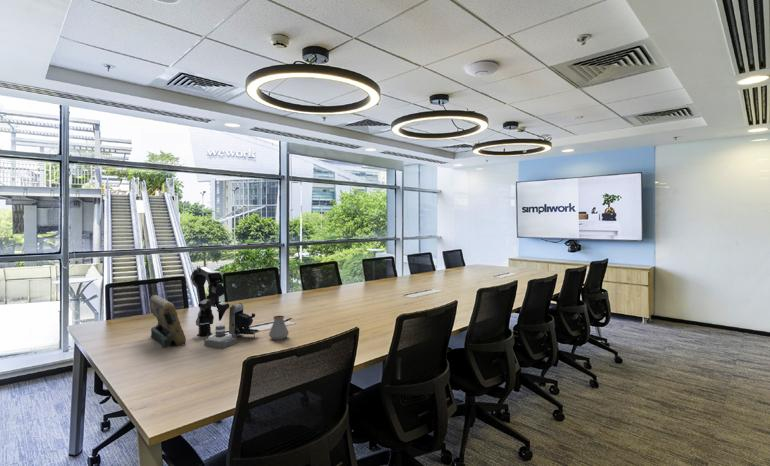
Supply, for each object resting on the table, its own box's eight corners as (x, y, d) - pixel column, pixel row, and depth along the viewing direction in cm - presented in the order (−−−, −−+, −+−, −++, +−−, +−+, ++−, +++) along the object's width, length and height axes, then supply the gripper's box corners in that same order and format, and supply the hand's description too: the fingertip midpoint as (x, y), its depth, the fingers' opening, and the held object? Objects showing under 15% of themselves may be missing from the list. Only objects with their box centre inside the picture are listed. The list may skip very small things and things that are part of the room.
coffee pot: (265, 337, 237) (265, 312, 237) (283, 334, 245) (283, 310, 244) (282, 346, 221) (282, 319, 221) (300, 342, 229) (300, 316, 229)
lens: (213, 339, 223) (213, 326, 223) (220, 337, 228) (220, 324, 227) (220, 340, 221) (220, 327, 221) (227, 338, 226) (227, 325, 225)
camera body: (204, 345, 222) (204, 336, 222) (217, 340, 232) (217, 331, 231) (223, 348, 217) (223, 339, 217) (236, 343, 226) (236, 334, 226)
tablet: (191, 343, 225) (191, 299, 225) (165, 349, 215) (165, 303, 214) (169, 332, 247) (169, 292, 246) (144, 337, 237) (144, 295, 236)
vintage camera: (251, 341, 231) (253, 307, 231) (227, 338, 234) (229, 305, 234) (260, 336, 241) (261, 304, 240) (237, 334, 244) (238, 302, 243)
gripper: (190, 294, 227) (190, 321, 227) (215, 296, 220) (215, 324, 220) (206, 291, 237) (206, 317, 237) (230, 293, 230) (230, 320, 230)
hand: (213, 319), depth 231 cm, fingers open, 9 cm apart
